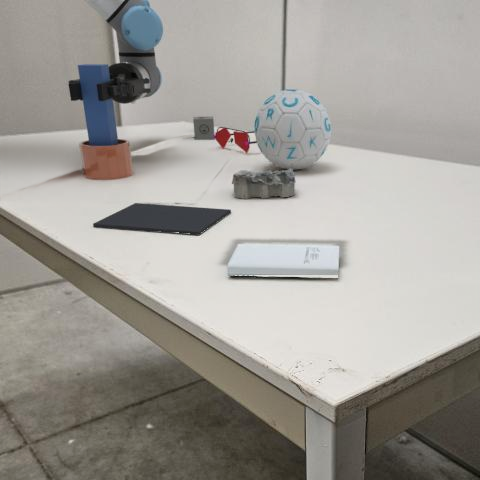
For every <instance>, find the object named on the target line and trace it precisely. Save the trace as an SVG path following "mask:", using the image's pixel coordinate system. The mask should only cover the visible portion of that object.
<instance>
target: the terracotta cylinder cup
mask: <svg viewBox="0 0 480 480" xmlns="http://www.w3.org/2000/svg"><path fill="white" fill-rule="evenodd" d="M78 145H79V151H80V157H81V164H82V171H83V176H84V178H86V179H88V180H95V181H110V180H111V181H112V180H119V179H120V180H121V179H125V178H129V177H132V176H133V175H134V167H133V160H132V152H131V145H130V141H129V140H128V139H123V138H118V145H109V146H90V145H89V139H88V140H83V141H80V142H79V143H78Z"/></svg>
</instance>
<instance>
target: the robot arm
mask: <svg viewBox="0 0 480 480" xmlns="http://www.w3.org/2000/svg"><path fill="white" fill-rule="evenodd" d="M84 1H85V2H86V3H87V4H88V5H89V6H90V7H91V8H92V9H93V10H94V11H95V12H96V13H97V14H98V15H99V16H100V17H101V18H102V19H103V20H104V21H106V23H107V24H108V25H109V26H110V27H111V28H112V29H113V30H114V31H115V34H116V42H117V48H118V59H119V62H117V63H116V62H115V63H113V64H111V65H108V66H109V74H110V81H108V82H104V83H99V84H96V85H97V92H98V99H99V101H105V100H108V99H112V98H113V102H116V103H118V104H130V103H131V104H132V105H133V104H136V101H138V100H141V99H144V98H149V97H153V95H155V94H156V92H158V91H159V89H160V88H161V85H162V82H163V76H162V73H161V70H160V68H159V67H158V66H157V60H156V53H155V48H156V47H157V46H158V45H159V44H160V42H161V41H162V38H163V35H164V26H163V22H162V20H161V17H160V16H159V15H158V13H157V12H156V11H155V10H154V9H153V8H152V7H151V3H150V1H149V0H84ZM67 86H68V91H69V97H70V101H71V102H76V101H81V102H83V98H82V91H81V84H80V78H77V79H70V80H68V83H67Z"/></svg>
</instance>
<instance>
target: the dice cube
mask: <svg viewBox="0 0 480 480" xmlns="http://www.w3.org/2000/svg"><path fill="white" fill-rule="evenodd" d="M192 120H193V135H194V140H195V141H196V140H197V141H198V140H216V138H213V135H215V124H214V123H215V122H214V116H212V115H211V116H208V115H207V116H193V118H192Z"/></svg>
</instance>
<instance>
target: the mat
mask: <svg viewBox="0 0 480 480" xmlns="http://www.w3.org/2000/svg"><path fill="white" fill-rule="evenodd" d="M229 213H230V214H231V213H232V210H231V209H226V208H213V207H212V208H211V207H198V206H183V205H170V204H155V203H142V202H141V203H140V202H135V203H133V204H130V205H129V206H126V207H124V208H122V209H121V210H118V211H116V212H114V213H112V214H110V215H108V216H106V217H104V218H102V219H100V220H98V221H96V222H93V224H92V226H93V228H99V227H101V228H100V229H112V228H114V229H113V230H125V229H128V230H127V231H137V230H144V231H143V232H150V231H161V232H160V233H162V232H179V233H190V234H200V233H201V232H203V231H204V230H206V229H207V228H209V227H210V226H212V225H213V224H214V225H216V224H217V223H218V222H217V221H219V220H220V219H221V220H223V219H224V218H225V216H226V215H227V214H228V215H230V214H229ZM228 215H227V216H228ZM227 216H226V217H227ZM223 217H224V218H223ZM222 218H223V219H222ZM221 220H220V221H221ZM220 221H219V222H220ZM216 222H217V223H216ZM215 223H216V224H215ZM214 225H213V226H214ZM213 226H212V227H213ZM115 228H116V229H115ZM210 228H211V227H210ZM210 228H209V229H210ZM129 229H130V230H129ZM207 230H208V229H207ZM207 230H206V231H207ZM204 232H205V231H204ZM204 232H203V233H204ZM200 235H201V234H200Z"/></svg>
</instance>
